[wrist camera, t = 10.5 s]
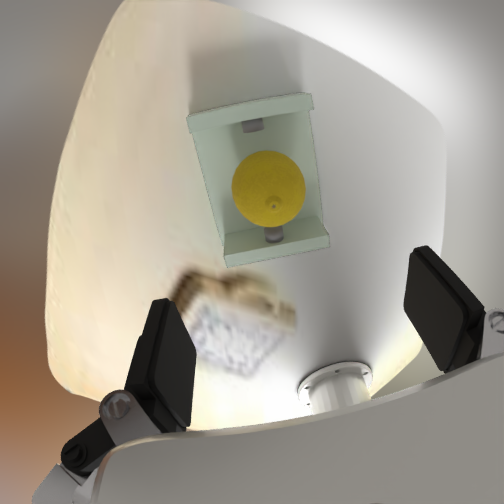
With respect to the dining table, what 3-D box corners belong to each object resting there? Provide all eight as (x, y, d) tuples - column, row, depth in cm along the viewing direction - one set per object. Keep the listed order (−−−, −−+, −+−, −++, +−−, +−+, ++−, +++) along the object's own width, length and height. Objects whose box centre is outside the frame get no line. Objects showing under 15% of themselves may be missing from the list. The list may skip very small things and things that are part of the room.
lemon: (255, 130, 24) (263, 147, 17) (307, 166, 26) (333, 196, 19) (220, 182, 26) (213, 218, 19) (271, 213, 28) (283, 258, 21)
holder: (320, 221, 30) (335, 245, 25) (222, 241, 30) (221, 268, 26) (302, 92, 23) (317, 93, 19) (189, 114, 24) (179, 119, 19)
